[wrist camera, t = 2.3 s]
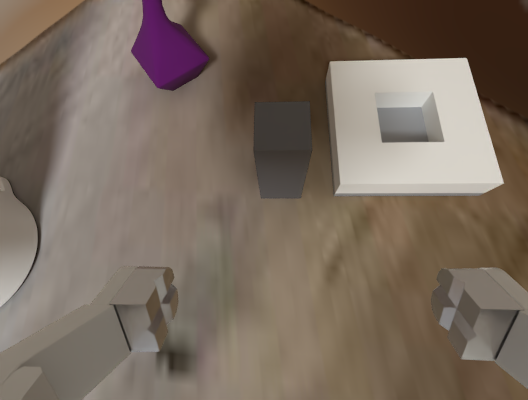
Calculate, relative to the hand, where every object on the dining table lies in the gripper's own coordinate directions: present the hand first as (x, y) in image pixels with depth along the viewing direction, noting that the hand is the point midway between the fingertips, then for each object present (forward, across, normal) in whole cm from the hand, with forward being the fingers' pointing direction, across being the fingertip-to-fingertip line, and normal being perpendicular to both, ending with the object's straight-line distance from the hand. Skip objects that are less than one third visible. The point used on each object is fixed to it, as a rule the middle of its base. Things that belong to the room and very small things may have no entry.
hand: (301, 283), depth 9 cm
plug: (+24, +1, +6) cm, 24 cm away
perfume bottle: (+35, +15, -6) cm, 38 cm away
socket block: (+28, -13, +2) cm, 31 cm away
